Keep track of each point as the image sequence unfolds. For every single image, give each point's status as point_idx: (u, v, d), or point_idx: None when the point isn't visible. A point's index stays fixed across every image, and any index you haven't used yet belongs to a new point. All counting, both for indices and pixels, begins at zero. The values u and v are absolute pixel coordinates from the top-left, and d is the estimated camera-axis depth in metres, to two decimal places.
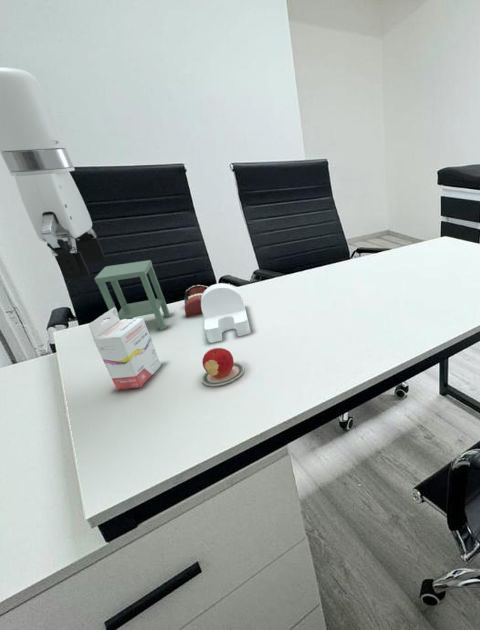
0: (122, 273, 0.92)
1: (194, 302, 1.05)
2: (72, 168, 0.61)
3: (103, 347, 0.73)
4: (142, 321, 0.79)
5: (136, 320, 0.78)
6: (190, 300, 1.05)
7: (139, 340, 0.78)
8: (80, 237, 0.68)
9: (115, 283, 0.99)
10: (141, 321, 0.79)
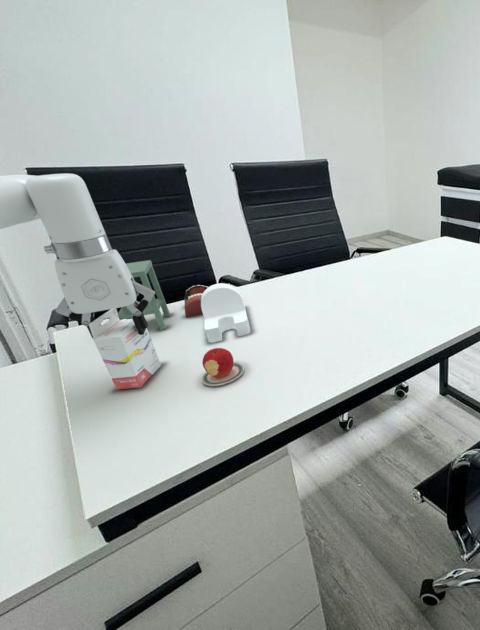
0: None
1: (194, 302, 1.05)
2: None
3: (103, 347, 0.73)
4: None
5: None
6: (190, 300, 1.05)
7: (139, 340, 0.78)
8: (91, 319, 0.73)
9: None
10: None
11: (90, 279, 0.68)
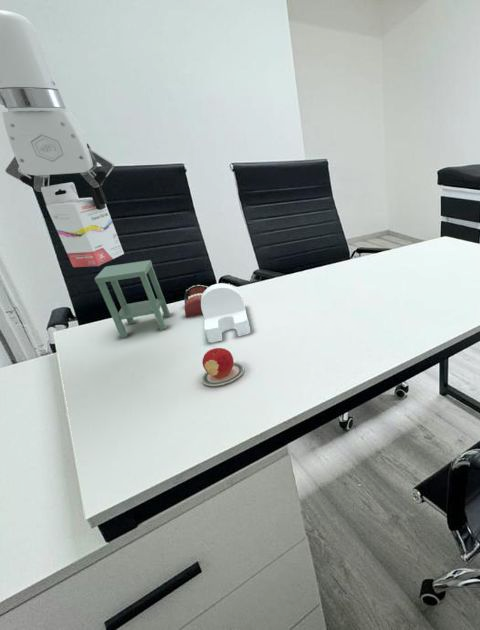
0: (122, 273, 0.92)
1: (194, 302, 1.05)
2: None
3: (56, 215, 0.69)
4: None
5: None
6: (190, 300, 1.05)
7: (97, 217, 0.74)
8: (45, 186, 0.69)
9: (115, 283, 0.99)
10: None
11: (41, 136, 0.65)
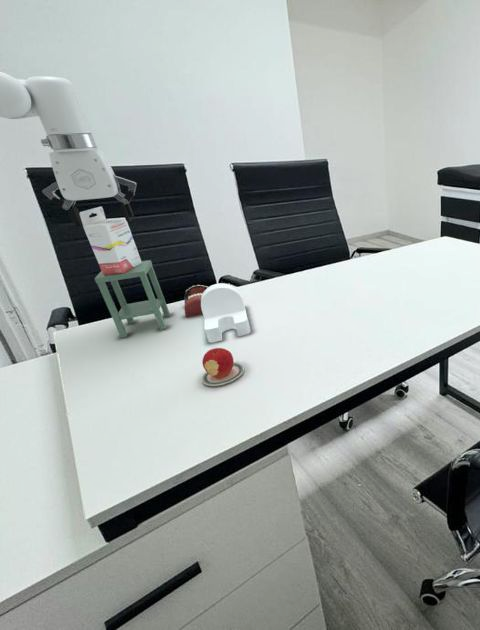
0: (122, 273, 0.92)
1: (194, 302, 1.05)
2: None
3: (91, 234, 0.88)
4: (125, 220, 0.94)
5: (119, 218, 0.93)
6: (190, 300, 1.05)
7: (122, 234, 0.93)
8: (71, 206, 0.87)
9: (115, 283, 0.99)
10: (124, 219, 0.94)
11: (79, 170, 0.83)
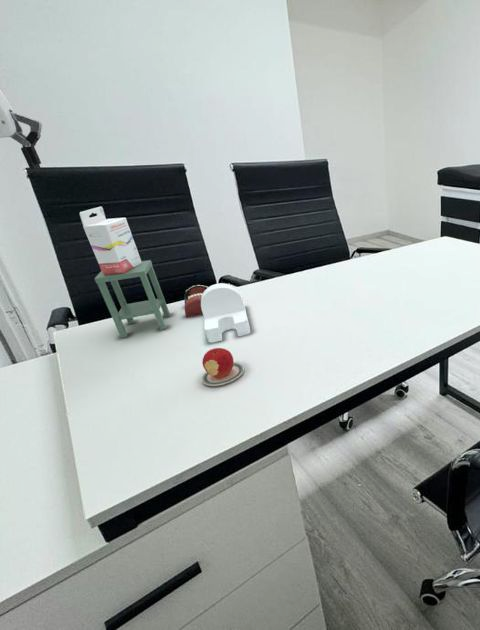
0: (122, 273, 0.92)
1: (194, 302, 1.05)
2: None
3: (91, 234, 0.88)
4: (125, 220, 0.94)
5: (119, 218, 0.93)
6: (190, 300, 1.05)
7: (122, 234, 0.93)
8: None
9: (115, 283, 0.99)
10: (124, 219, 0.94)
11: None
